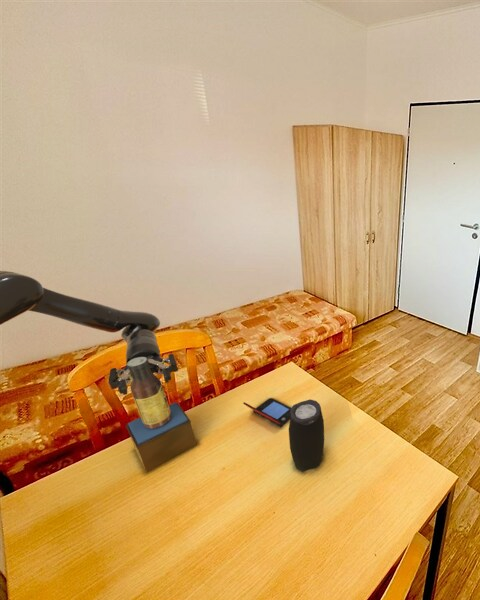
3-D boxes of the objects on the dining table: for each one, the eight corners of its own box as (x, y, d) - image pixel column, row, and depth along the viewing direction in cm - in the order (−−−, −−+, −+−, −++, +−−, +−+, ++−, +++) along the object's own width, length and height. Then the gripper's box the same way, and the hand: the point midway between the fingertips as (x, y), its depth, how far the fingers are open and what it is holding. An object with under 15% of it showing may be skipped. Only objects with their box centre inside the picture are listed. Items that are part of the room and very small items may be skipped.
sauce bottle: (177, 417, 88) (160, 359, 80) (153, 433, 83) (132, 372, 74) (162, 409, 90) (144, 351, 82) (137, 424, 85) (116, 363, 77)
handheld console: (297, 413, 107) (296, 396, 104) (272, 435, 98) (270, 417, 95) (270, 399, 112) (268, 382, 108) (244, 419, 103) (241, 401, 100)
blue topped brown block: (146, 473, 84) (136, 447, 80) (135, 450, 89) (125, 424, 85) (197, 446, 92) (190, 420, 88) (184, 426, 98) (177, 402, 94)
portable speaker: (285, 465, 89) (280, 413, 81) (308, 442, 97) (306, 392, 89) (308, 480, 86) (305, 428, 78) (330, 455, 93) (330, 405, 85)
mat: (138, 444, 80) (137, 443, 80) (128, 424, 85) (127, 423, 85) (187, 420, 88) (187, 419, 88) (175, 403, 93) (175, 402, 93)
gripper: (106, 350, 86) (104, 384, 75) (170, 336, 94) (176, 364, 83) (114, 372, 89) (113, 408, 78) (175, 357, 97) (182, 387, 86)
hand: (146, 385), depth 80 cm, fingers open, 8 cm apart
